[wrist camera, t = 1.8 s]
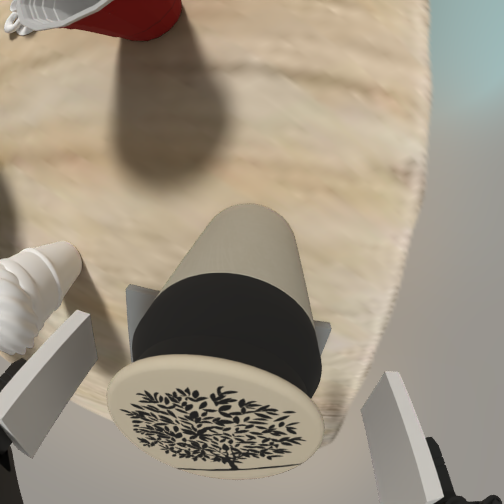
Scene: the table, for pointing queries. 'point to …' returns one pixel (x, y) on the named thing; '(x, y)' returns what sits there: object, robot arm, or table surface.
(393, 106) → the table surface
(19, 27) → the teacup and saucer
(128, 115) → the table surface
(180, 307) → the travel mug
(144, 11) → the plastic cup
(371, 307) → the table surface
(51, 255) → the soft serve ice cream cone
